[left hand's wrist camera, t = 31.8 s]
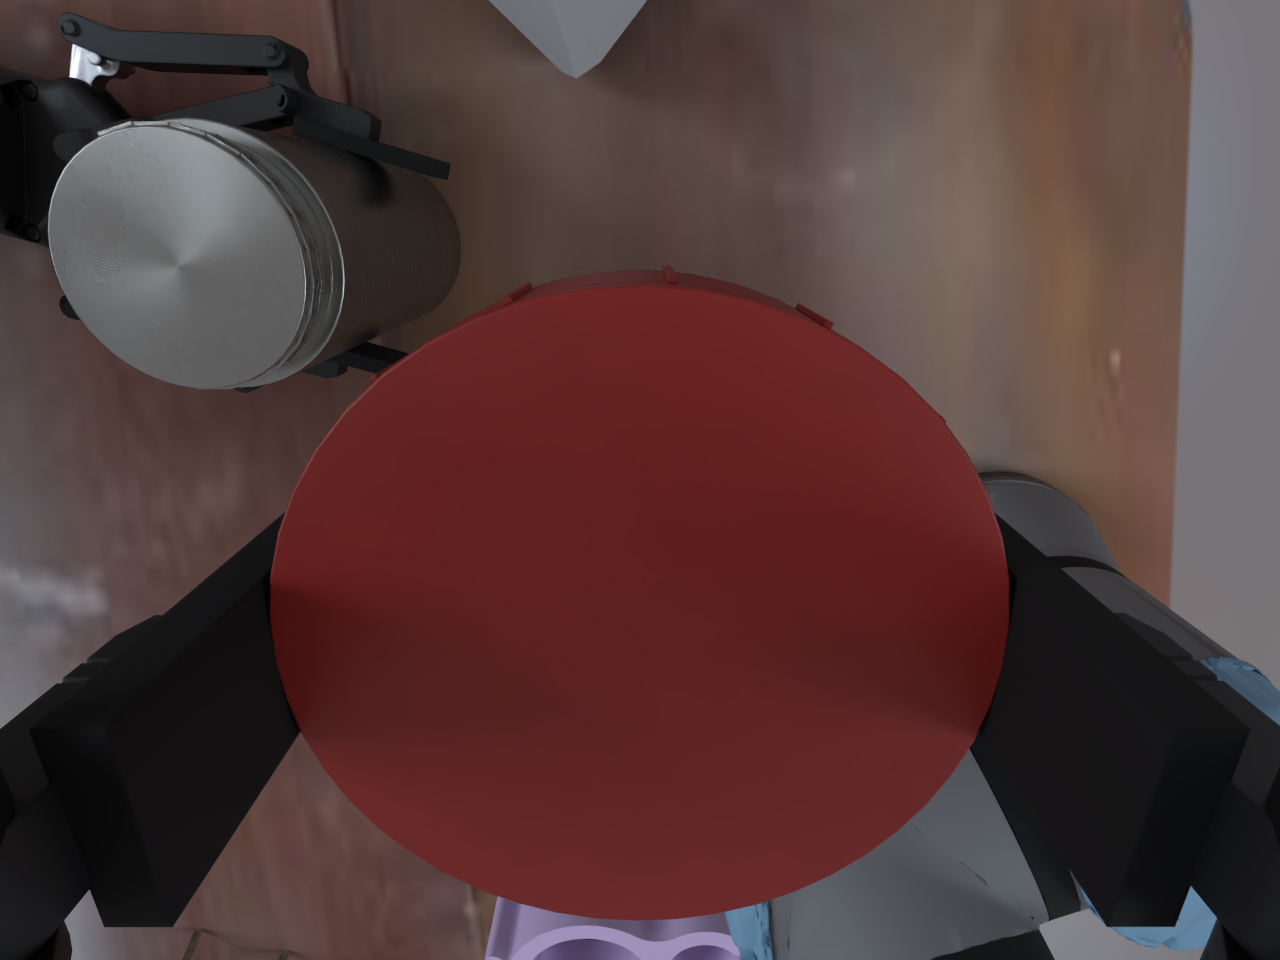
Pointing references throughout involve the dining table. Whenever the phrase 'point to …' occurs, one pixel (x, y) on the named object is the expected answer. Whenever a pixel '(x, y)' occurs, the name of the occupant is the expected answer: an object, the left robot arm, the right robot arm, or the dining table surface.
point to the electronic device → (571, 28)
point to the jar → (242, 249)
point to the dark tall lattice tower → (194, 942)
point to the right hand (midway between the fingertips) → (424, 273)
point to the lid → (639, 599)
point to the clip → (604, 937)
